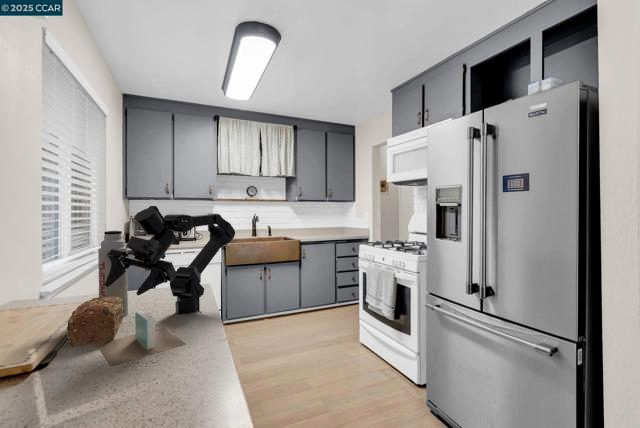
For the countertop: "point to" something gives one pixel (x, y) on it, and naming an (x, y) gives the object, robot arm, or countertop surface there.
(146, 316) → the tile
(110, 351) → the board
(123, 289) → the thermos bottle
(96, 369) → the countertop surface
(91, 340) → the bread
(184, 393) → the countertop surface
